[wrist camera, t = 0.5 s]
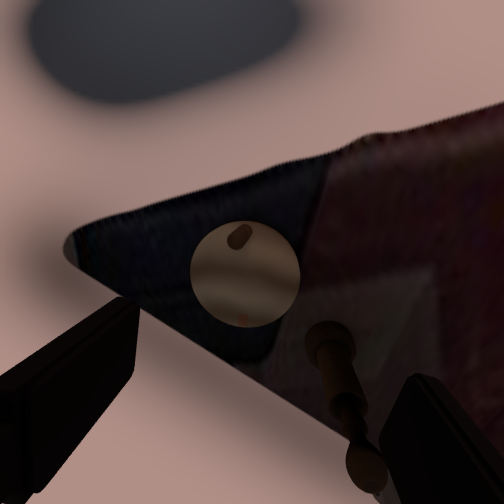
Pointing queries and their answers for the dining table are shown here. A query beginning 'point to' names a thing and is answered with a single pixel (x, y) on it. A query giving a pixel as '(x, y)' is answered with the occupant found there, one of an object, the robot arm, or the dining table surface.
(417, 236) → the dining table surface
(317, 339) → the wooden pepper mill
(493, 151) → the dining table surface
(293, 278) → the disc
